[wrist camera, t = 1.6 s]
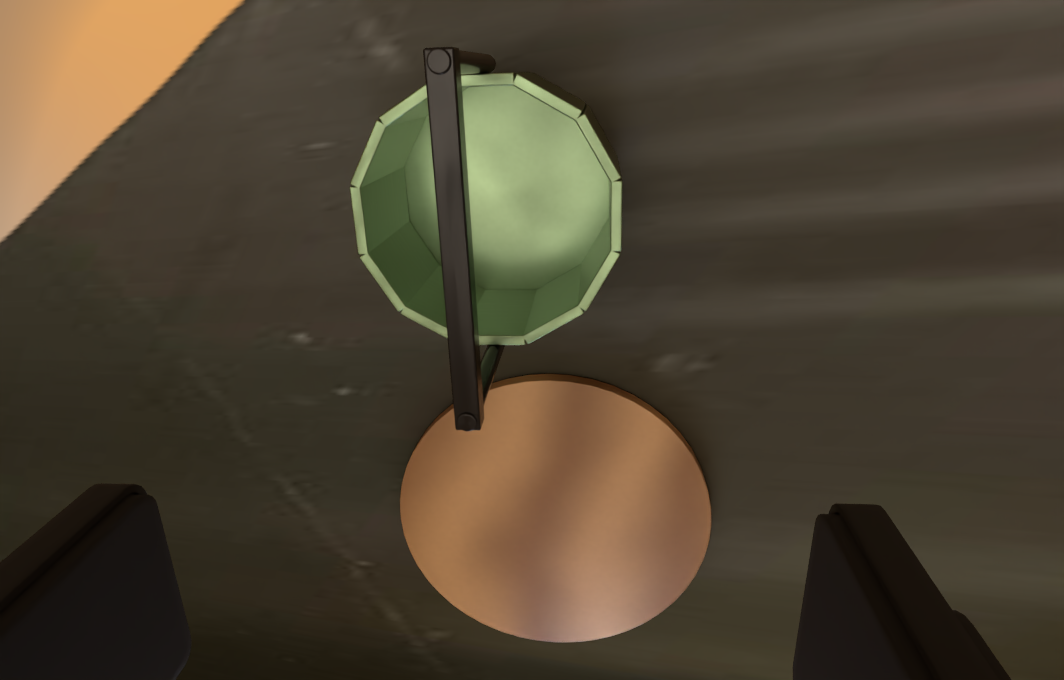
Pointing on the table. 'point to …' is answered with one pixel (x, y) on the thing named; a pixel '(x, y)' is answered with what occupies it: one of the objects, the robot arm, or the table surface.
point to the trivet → (557, 510)
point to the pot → (487, 212)
